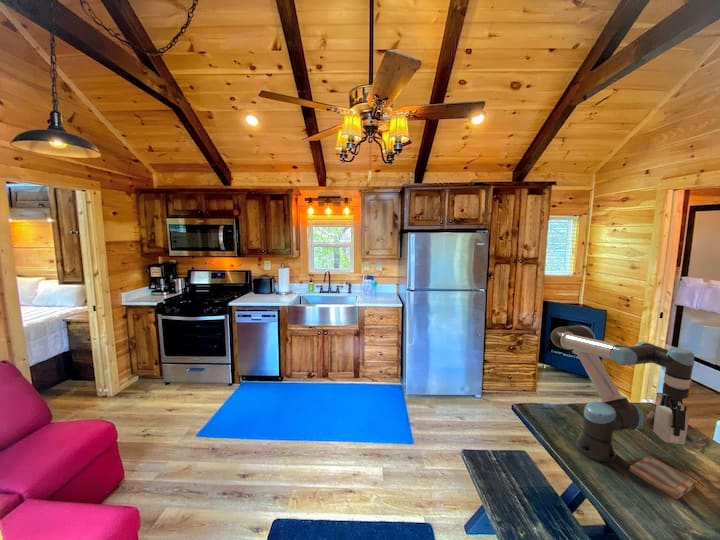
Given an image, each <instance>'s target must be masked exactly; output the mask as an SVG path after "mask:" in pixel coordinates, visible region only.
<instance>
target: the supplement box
mask: <svg viewBox="0 0 720 540" xmlns="http://www.w3.org/2000/svg"><path fill="white" fill-rule="evenodd" d="M674 409H676V408H674ZM655 410H656V413H655V420H654V427H653V428H652V432H653V433H654V434H655V435H657V436H658V438H659V439H661V440H662V441H663V442H664V443H671V444H677V445H679V444H680V445H686V442H687V441H686V440H687V434H688V427H689V420H690V416H689V415H688V414H686V416H685V431H683V430H681V431H680V437H679V443H676V442H671V441H669V437H670V430H671V426H673V422H672V420H673V414H672V410H671V409H670V407H666V406H660V404H659V405H658V404H656V406H655Z"/></svg>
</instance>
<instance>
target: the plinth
mask: <svg viewBox="0 0 720 540" xmlns="http://www.w3.org/2000/svg"><path fill="white" fill-rule="evenodd" d="M630 471H631V473H633V474H634V475H635V476H637V477H639V478H640V479H642V480H644V481H645V482H647V483H648V484H650V485H652V486H654V487H655V488H657V489H658V490H660V491H662V493H663V492H664V493H665V494H667V495H669V497H671V498H673V499H675V500H678V499H680V498H682V497H683V496H684V495H686V494H687V493H689V492H690V491H692V490H693V489H694V488H696V487H697V485H698V480H696V479H694V478H692V477H690V476H689V475H686V474H685V473H683V472H681V471H679V470H677V469H676V468H674V467H671V466H670V465H668V464H666V463H664V462H663V461H661V460H658V458H655V457H653V456H652V455H648V456H646V457H644V458H642V459H640V460H639V461H636V462H635V463H633V464H631V465H630V466H629V472H630Z"/></svg>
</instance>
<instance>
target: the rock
mask: <svg viewBox="0 0 720 540" xmlns="http://www.w3.org/2000/svg"><path fill="white" fill-rule="evenodd" d="M655 413H656V409H652V410H650V412H649V413H648V414H647V416H646V418H645V419H644V422H645V423H646V424H647V425H648V426H649V427H650V429H651V428H652V429H653V427H654V420H655Z"/></svg>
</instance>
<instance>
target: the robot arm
mask: <svg viewBox="0 0 720 540" xmlns="http://www.w3.org/2000/svg"><path fill="white" fill-rule="evenodd" d="M550 340H551V342H552V344H553V345H555V346H556V347H558V348H560V349H563V350H567V351H568V350H571V352H572V353H573V354H574V355H577V357H578V359H579V361H580V362H581V364H582V366H583V368H584V370H585V372H586V373H587V375H588V377H589V380H591V382H592V385H593V386H594V389H596V392H597V393H598V396H599V398H600V399H601V400H600V402H599V401H590V402H587V404H586V405H585V406H584V411H583V419H582V420H583V421H582V430H581V433H580V434H579V435H578V437H577V438H576V443H575V444H576V448H577V450H579V451H580V452H581V453H582V454H583V455H585V456H586V457H588V458H590V459H592V460H594V461H598V462H601V463H612V462H614V461H615V460H616V449H615V447H614V443H613V441H614V440H613V438H614V433H620V432H627V431H636V430H639V429H640V428H641V427H642V426H643V424H644V422H645V419H644V413H643V412H642V410H641V409H640V408H639V407H638V405H635V404H634V403H631V402H630V401H629V400H628V398H627V397H626V396H623V395H622V394H621V393H620V391H619V389H618V387H617V386H616V384H615V383H614V381H613V379H612V377H611V375H610V374H609V372H608V371H607V369H606V367H605V365H604V364H603V363H602V361H601V359H600V358H604V359H607V360H610V361H613V362H615V364H616V365H619V366H626V367H627V366H633V365H634V366H635V365H642V364H655V365H657V366H661V367H663V368H665V372H664V375H663V376H664V377H663V384H662V395H661V399H660V402H659V406H666V407H670V409H671V410H672V414H673V420H672V422H673V426H671V430H670V437H669V441H671V442H676V443H679V437H680V431H681V430H683V431H685V416H686V415H687V414H686V412H687V409H688V408H687V406H685V405H683V404H684V402H683V399H688V398H689V393H690V386H691V383H692V381H693V380H692V374H693V369H694V365H695V354H694V353H693V352H692V351H691V350H689V349H685V348H681V347H669V348H668V349H666V348H663V347H660V346H657V345H655V344H653V343H650V342H645V341H639V342H637V343H635V345H634V346H633V345H632V346H626V345H622V344H617V343H613V342H609V341H605V340H600V339H596V334H595V333H594V332H593V330H592V329H591V328H589V327H587V326H585V325H579V324H578V325H577V324H576V325H569V326H558V327H556V328H554V329H553V330H552V332H551V333H550ZM674 408H676V409H674ZM676 443H675V444H676Z"/></svg>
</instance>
